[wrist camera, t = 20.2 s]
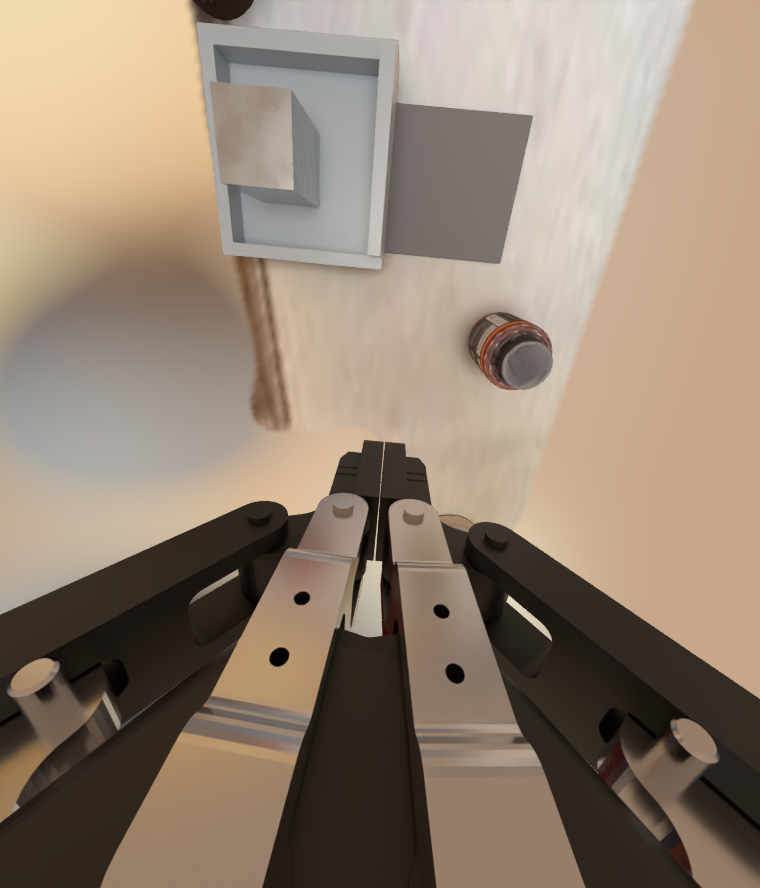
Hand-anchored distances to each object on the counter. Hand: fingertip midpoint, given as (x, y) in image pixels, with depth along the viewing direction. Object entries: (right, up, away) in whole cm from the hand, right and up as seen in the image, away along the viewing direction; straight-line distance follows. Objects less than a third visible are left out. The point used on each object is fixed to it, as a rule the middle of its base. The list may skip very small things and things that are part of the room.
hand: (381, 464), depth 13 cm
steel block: (-8, +24, +16) cm, 30 cm away
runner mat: (-1, +25, +19) cm, 31 cm away
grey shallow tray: (-6, +25, +19) cm, 32 cm away
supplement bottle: (+13, +12, +25) cm, 30 cm away
